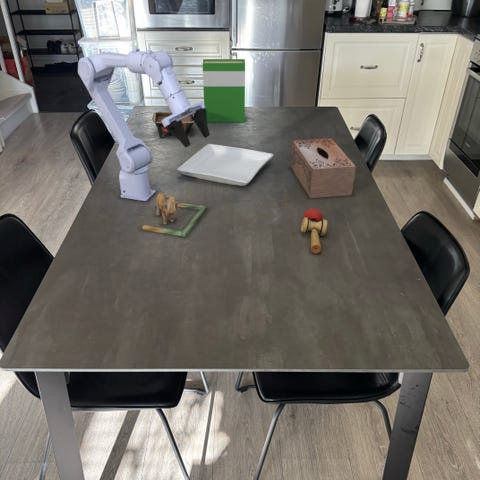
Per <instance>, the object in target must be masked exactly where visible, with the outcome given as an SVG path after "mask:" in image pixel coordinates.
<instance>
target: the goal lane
mask: <svg viewBox="0 0 480 480" xmlns="http://www.w3.org/2000/svg"><path fill="white" fill-rule="evenodd" d="M178 202H179V201H178ZM179 203H181V206H180V207H179V208H184V209H190V210H196V211H198V212H197V213H196V214H195V215H194V217H193V218H192V219H191V220H190V221H189V222H188V224H187V225H186V226H185V228H184V229H183V230H176V229H171V228H164V227H158V226H153V225H146V224H143V225H142V227H141V228H142V230H143V231H147V232H153V233H154V232H155V233H160V234H165V235H172V236H178V237H184V238H185V237H186V236H187V235H188V233H190V231H191V230H192V228H193V227H194V226H195V225H196V223H197V222H198V221H199V220H200V218H201V217H202V216H203V215H204V213H206V211H207V210H208V208H207V205H199V204H192V203H185V202H179Z"/></svg>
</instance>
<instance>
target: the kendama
mask: <svg viewBox="0 0 480 480" xmlns="http://www.w3.org/2000/svg"><path fill="white" fill-rule="evenodd" d="M300 228H301V229H300V231H301V233H304V234H306V232H310V231H311V233H310V251H311V253H313V254H319V253H320V252H321V251H322V245H321V241H320V236H321V237H324V236H325V235H326V233H327V230H328V229H327V228H328V220H327V219H324V216H323V213H322V212H321V210H319V209H317V208H309V209H307V210H305V212H304V213H303V216H302V223H301V227H300Z"/></svg>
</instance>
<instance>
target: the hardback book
mask: <svg viewBox="0 0 480 480" xmlns="http://www.w3.org/2000/svg"><path fill="white" fill-rule="evenodd" d="M202 61H203V62H202V83H203V84H202V85H203V87H202V89H203V104H204V106H205V108H206V111H207V113H206V117H207V123H245V121H246V59H245V58H203V59H202Z"/></svg>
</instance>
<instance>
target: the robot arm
mask: <svg viewBox="0 0 480 480" xmlns="http://www.w3.org/2000/svg"><path fill="white" fill-rule="evenodd" d="M173 67H174V61H173V58H172V56H171V54H170V53H169V52H167V51H166V50H164V49H160V50H158V51H157V52H153V49H148V50H147V49H146V51H145V50H144V51H142V50H140V48H137V47H136V48H132V50H130V51H129V52H128V53H127V54H125V53H119V52H111V51H102V52H100V53H97V54H94V55H90V56H85V57H81V58H80V59H78V63H77V74H78V75H79V77H80V79H81V81H82V82H83V84H84V87H85V88H86V90H87V91H88V94H89V95H90V97H91V99H92V101H93V103H94V104H95V106H96V107H97V110H98V111H99V113H100V114H101V116H102V118H103V120H104V121H105V124H106V125H107V127H108V128H109V130H110V132H111V133H112V135H113V137H114V139H115V140H116V142H117V144H118V146H117V149H116V153H115V155H116V157H117V159H118V162H119V166H120V167H121V169H120V171H119V176H118V180H119V187H120V193H121V194H120V198H122V199H128V200H136V201H142V202H147V201H148V200H149V199H150V198H151V197H152V196H153V195H154V194H155V193H156V192H157V190H156V189H152V188H151V178H150V168H151V164H152V162H153V161H154V160H153V159H154V158H153V157H154V156H153V153H152V150H151V149H150V148H149V147H148V146H147V145H146V144H145V142H144V140H142V139H141V138H138V137H136V136H134V134H133V132H132V131H131V128H130V127H129V125H128V124H127V122H126V120H125V118H124V117H123V114H122V113H121V111H120V109H119V108H118V106H117V104H116V103H115V101H114V99H113V97H112V96H111V93H110V92H109V90H108V89H109V85H110V84H111V81H112V78H113V75H114V73H115V69H116V68H122V69H123V68H124V69H126V68H127V69H128V71H129V72H130V73H132V74H141V75H146V76H147V77H149V78H150V79H151V80H152V81H153V83H154V84H155V85H157V87H158V89H159V92H160V93H161V96H162V97H163V99H164V102H165V103H166V104H167V107H168V109H169V111H170V112H172V115H170V116H168V117H166V118H164V119H163V120H162V123H163V125H164V127H167V126H168V127H167V128H166V129H167V131H168V132H167V133H169V134H171V135H172V136H174V138H176V139H177V140H178V141H179V142H180V143H181V144H182V145H183V147H184V148H188V147H190V146H191V145H192V144H191V141H190V139H189V137H188V135H186V133H185V131H184V128H183V124H182V120H181V119H183V118H185V117H187V116H189V115H192V114H194V116H193V117H191V119H192V120H193V121H194V122H195V123H194V124H195V125H196V126H197V128H198V130H199V131H200V134H201V135H202V136H203V138H204V139H206V138H208V137H210V135H211V134H210V130H209V125H208V122H207V117H206V113H207V111H206V108H205V106H204V101H200V102H197V103H194V104H191V103H190V101H189V98H188V97H187V95H186V93H185V90H183V88H182V85H181V83H180V81H179V79H178V77H177V76H176V73H175V72H174V70H173ZM190 112H191V113H190ZM186 113H187V115H184V114H186ZM182 115H184V116H182ZM180 116H182V117H180ZM179 117H180V118H179ZM177 118H178V119H177ZM179 120H180V121H179Z"/></svg>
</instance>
